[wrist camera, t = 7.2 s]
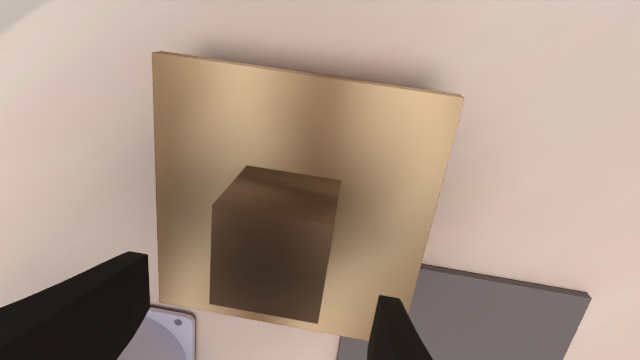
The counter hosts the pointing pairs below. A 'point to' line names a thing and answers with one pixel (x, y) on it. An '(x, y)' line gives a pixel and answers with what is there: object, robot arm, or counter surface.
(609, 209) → the counter surface
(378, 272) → the lid
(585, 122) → the counter surface
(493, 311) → the mat
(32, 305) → the robot arm
